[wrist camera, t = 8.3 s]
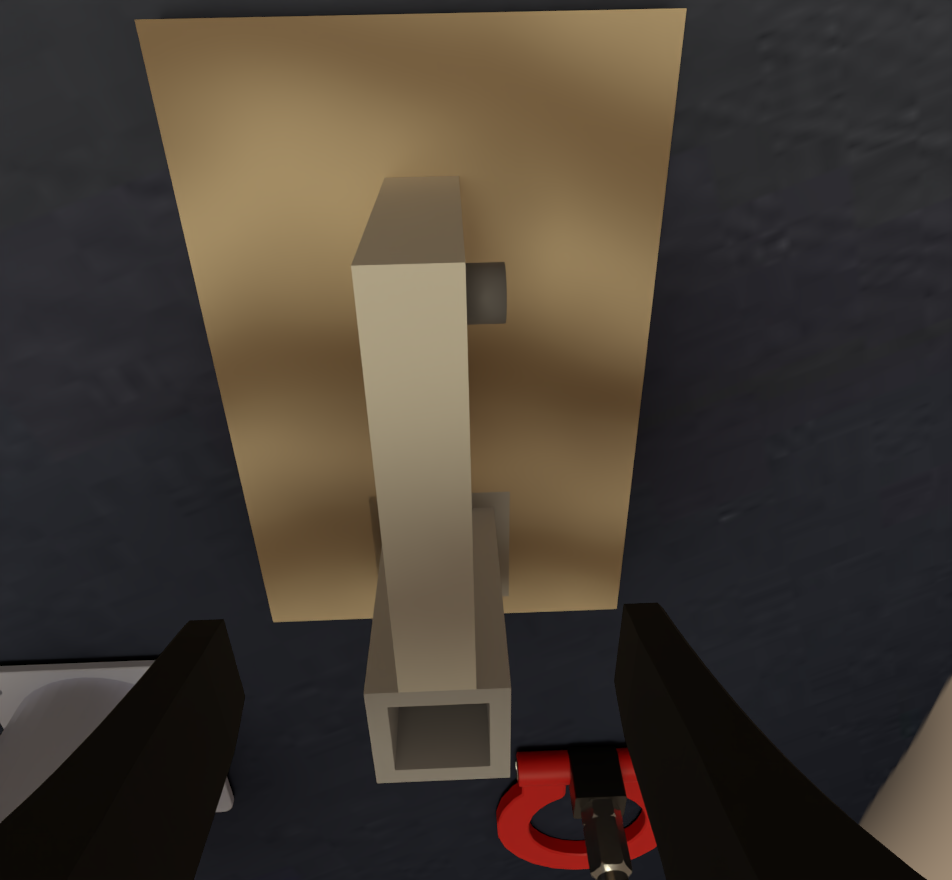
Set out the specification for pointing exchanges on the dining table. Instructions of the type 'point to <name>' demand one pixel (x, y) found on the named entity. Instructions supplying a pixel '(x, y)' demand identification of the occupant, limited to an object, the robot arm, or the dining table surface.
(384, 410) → the door
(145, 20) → the base board
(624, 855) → the tow hook
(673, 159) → the dining table surface
